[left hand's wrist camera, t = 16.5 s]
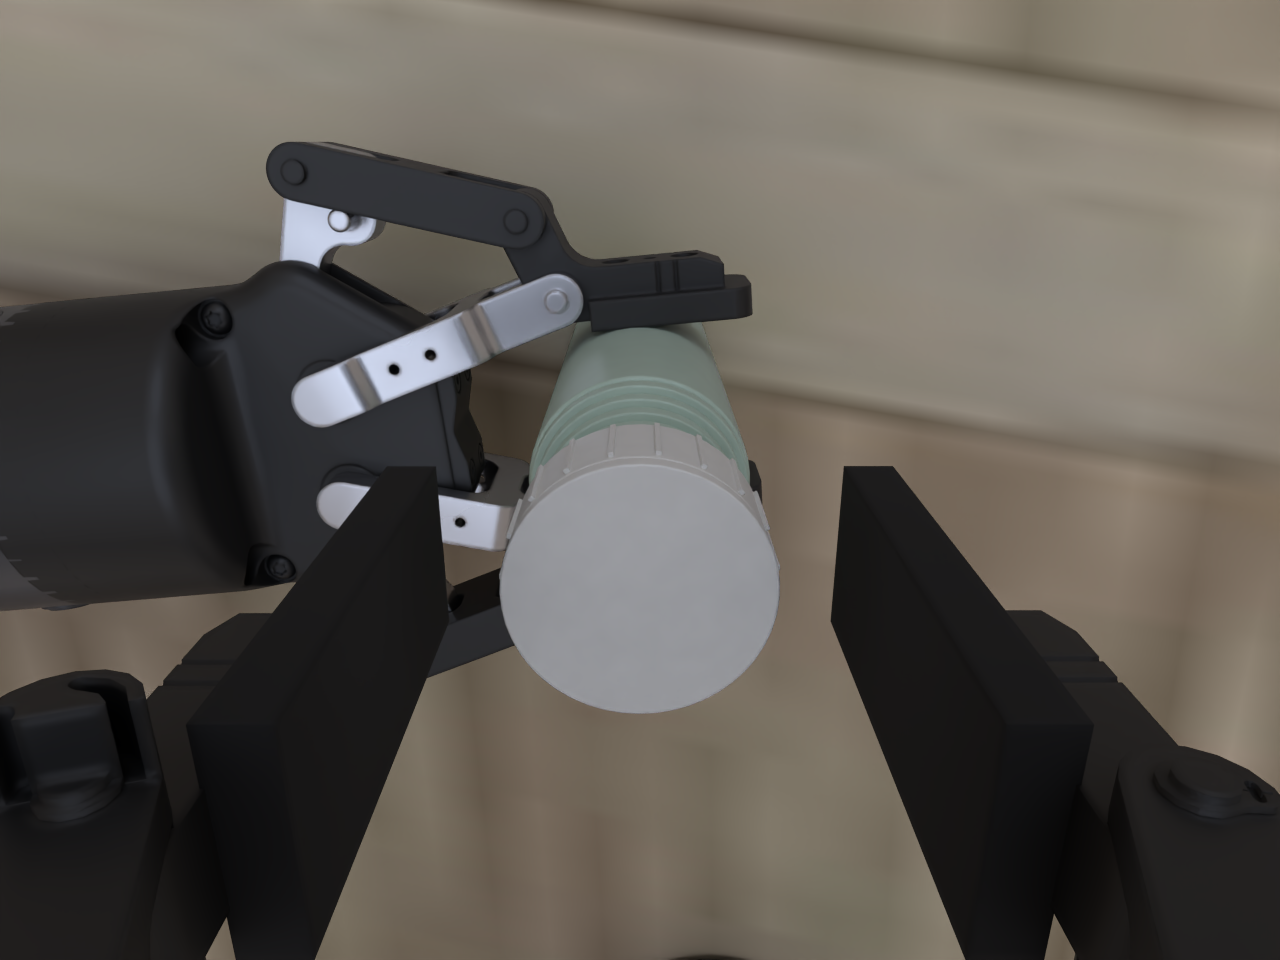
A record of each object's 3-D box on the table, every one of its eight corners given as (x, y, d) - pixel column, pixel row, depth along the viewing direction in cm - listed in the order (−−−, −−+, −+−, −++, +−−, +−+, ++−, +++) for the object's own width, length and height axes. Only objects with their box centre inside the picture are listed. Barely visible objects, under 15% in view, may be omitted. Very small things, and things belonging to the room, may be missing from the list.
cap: (817, 501, 14) (842, 552, 12) (680, 690, 15) (685, 760, 14) (594, 371, 13) (588, 405, 12) (468, 580, 15) (446, 639, 13)
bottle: (613, 431, 29) (586, 740, 14) (548, 319, 28) (443, 526, 13) (727, 372, 28) (827, 630, 13) (666, 254, 27) (702, 393, 12)
